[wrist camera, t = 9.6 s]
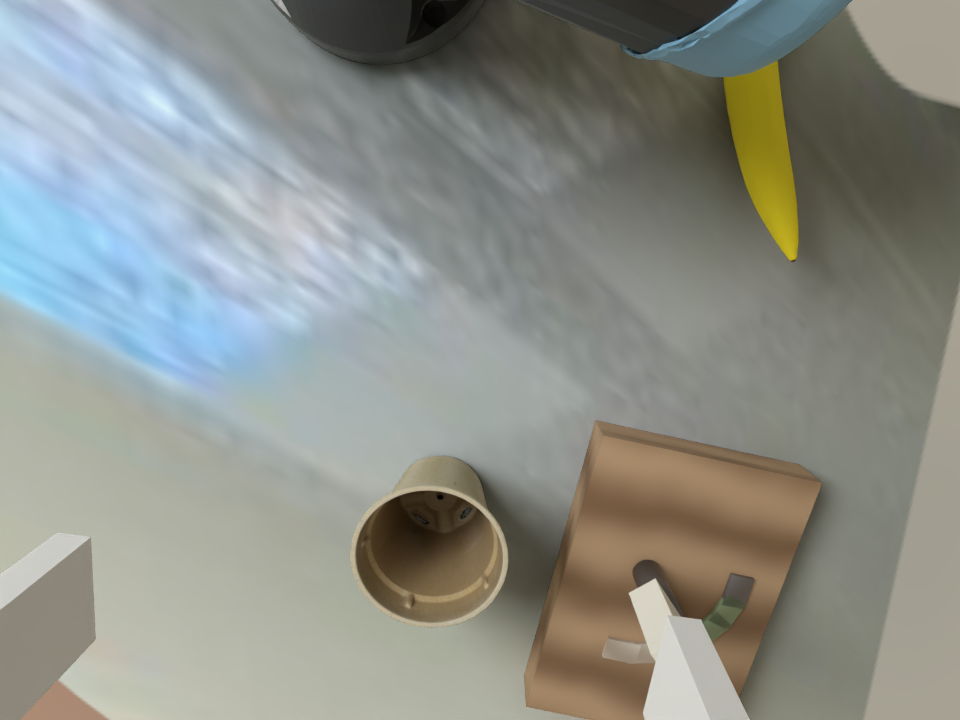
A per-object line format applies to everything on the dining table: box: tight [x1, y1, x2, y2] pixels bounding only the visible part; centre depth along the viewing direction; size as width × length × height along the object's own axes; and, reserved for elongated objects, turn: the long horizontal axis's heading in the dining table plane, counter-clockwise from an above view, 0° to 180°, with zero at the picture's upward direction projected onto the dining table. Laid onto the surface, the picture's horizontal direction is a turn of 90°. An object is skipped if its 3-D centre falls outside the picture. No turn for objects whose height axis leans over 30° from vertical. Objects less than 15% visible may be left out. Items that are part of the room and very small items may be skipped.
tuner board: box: [524, 421, 822, 720], centre depth 42 cm, size 22×15×3 cm
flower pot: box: [351, 456, 509, 628], centre depth 39 cm, size 9×9×9 cm
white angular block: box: [629, 560, 684, 661], centre depth 35 cm, size 11×2×11 cm, turn 33°
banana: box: [723, 60, 799, 262], centre depth 33 cm, size 3×19×6 cm, turn 12°
